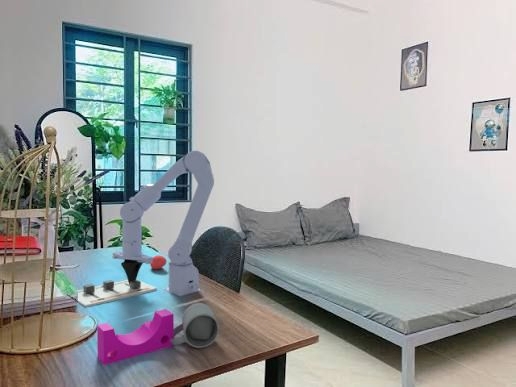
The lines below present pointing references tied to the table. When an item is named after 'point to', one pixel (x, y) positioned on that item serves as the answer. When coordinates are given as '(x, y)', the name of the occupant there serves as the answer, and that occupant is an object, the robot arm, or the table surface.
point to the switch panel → (112, 293)
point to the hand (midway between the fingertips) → (132, 283)
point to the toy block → (135, 338)
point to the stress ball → (158, 262)
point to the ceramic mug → (197, 326)
